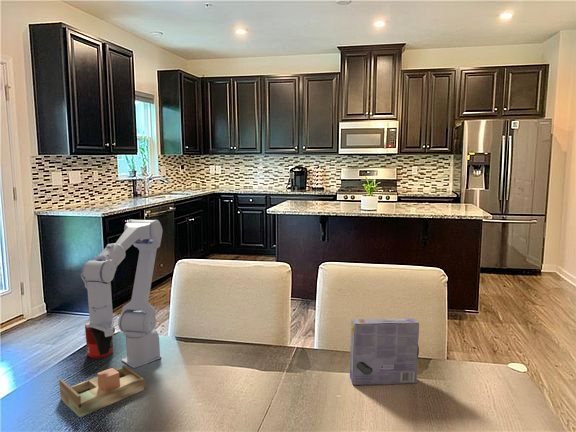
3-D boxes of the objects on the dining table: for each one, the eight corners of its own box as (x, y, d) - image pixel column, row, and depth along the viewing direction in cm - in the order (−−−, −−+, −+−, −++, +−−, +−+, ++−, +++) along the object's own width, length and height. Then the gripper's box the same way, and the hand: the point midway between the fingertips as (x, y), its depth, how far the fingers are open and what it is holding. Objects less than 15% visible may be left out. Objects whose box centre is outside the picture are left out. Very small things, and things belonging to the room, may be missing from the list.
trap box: (124, 374, 127) (123, 356, 127) (145, 389, 119) (144, 370, 119) (60, 399, 115) (59, 379, 114) (79, 417, 107) (77, 396, 106)
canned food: (104, 360, 137) (101, 326, 135) (81, 357, 138) (79, 324, 137) (118, 349, 144) (116, 317, 143) (96, 347, 146) (94, 315, 144)
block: (112, 381, 119) (111, 367, 118) (120, 386, 116) (119, 372, 116) (98, 387, 116) (97, 373, 115) (105, 392, 113) (104, 378, 113)
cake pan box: (414, 374, 126) (416, 316, 123) (421, 383, 121) (423, 322, 118) (348, 377, 125) (349, 318, 122) (352, 386, 120) (353, 325, 117)
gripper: (77, 300, 119) (81, 348, 121) (91, 316, 108) (95, 367, 110) (105, 295, 124) (108, 341, 125) (120, 309, 112) (123, 359, 114)
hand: (103, 353), depth 118 cm, fingers closed
